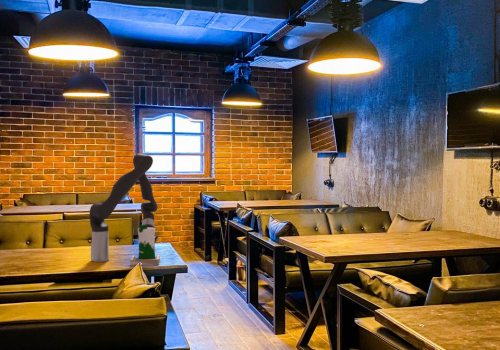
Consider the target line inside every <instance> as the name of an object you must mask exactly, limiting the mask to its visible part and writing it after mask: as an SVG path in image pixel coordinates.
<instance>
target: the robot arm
mask: <svg viewBox="0 0 500 350" xmlns="http://www.w3.org/2000/svg"><path fill="white" fill-rule="evenodd" d="M153 162H154V159H153V157H152V156H151V155H149V154H143V153H136V154H135V155H133V158H132V163H133V167H134V168H133V169H132V170H130V171H128V172H126V173H124V174H123V175H121V176H119V178H118V179H117V180H116V181H115V183H114V184H113V185H112V188H111V192H110V194H109V196H108V197H107V199H106V200H104V202H103V203H101V202H95V203H93V204H92V205H91V206H90V208H89V226H90V227H91V244H90V261H92V262H95V263H99V262H108V261H109V257H110V256H109V253H110V251H109V243H110V242H109V226H108V224H107V223H106V221H105V220H107V219H108V218H109V217H110V216H111V215H112V214H113V212H114V210H115V209H116V207H117V206H118V204H119V203H120V202H121V201H122V200H123V198H124V197H126V195H127V194H128V193H129V191H131V189H132V188H133V187H134V185H135V184H136V183H137V182H139V187H140V192H141V193H140V194H141V198H142V200H144V202H141V204H140V210H141V212H142V224H141V225H147V227H150V228H156V227H155V214H154V213H156V212H157V211H158V204H157V201H156V199H155V196H154V194H153V193H154V192H153V188H152V183H151V182H150V180H149V178H148V177H147V175H146V173H147V172H148V171H149V170H150V169H151V168H152V166H153ZM137 241H138V242H139V236H137ZM157 241H159V236H156V235H155V243H156V242H157Z"/></svg>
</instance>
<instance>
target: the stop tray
mask: <svg viewBox="0 0 500 350" xmlns="http://www.w3.org/2000/svg"><path fill="white" fill-rule="evenodd" d="M160 261H161V255H160V254H159V253H158V254H157V256H156V258H154V259H136V255H135V254H133V255H132V256H131V257H130V259H129V262H130V263H129V265H130V266H132V267H133V266H134V265H137V264H138V263H139V262H141V263H142V265H141V266H159V265H160ZM137 266H138V265H137Z"/></svg>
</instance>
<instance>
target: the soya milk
mask: <svg viewBox="0 0 500 350" xmlns="http://www.w3.org/2000/svg"><path fill="white" fill-rule="evenodd" d="M156 229H157V228H156V227H155V228H150V227H147V225H142V224H140V225H139V227H138V228H137V233H138V237H139V241H138V257H137V259H138V260H142V259H156V248H155V243H156V242H155V236H156Z"/></svg>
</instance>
